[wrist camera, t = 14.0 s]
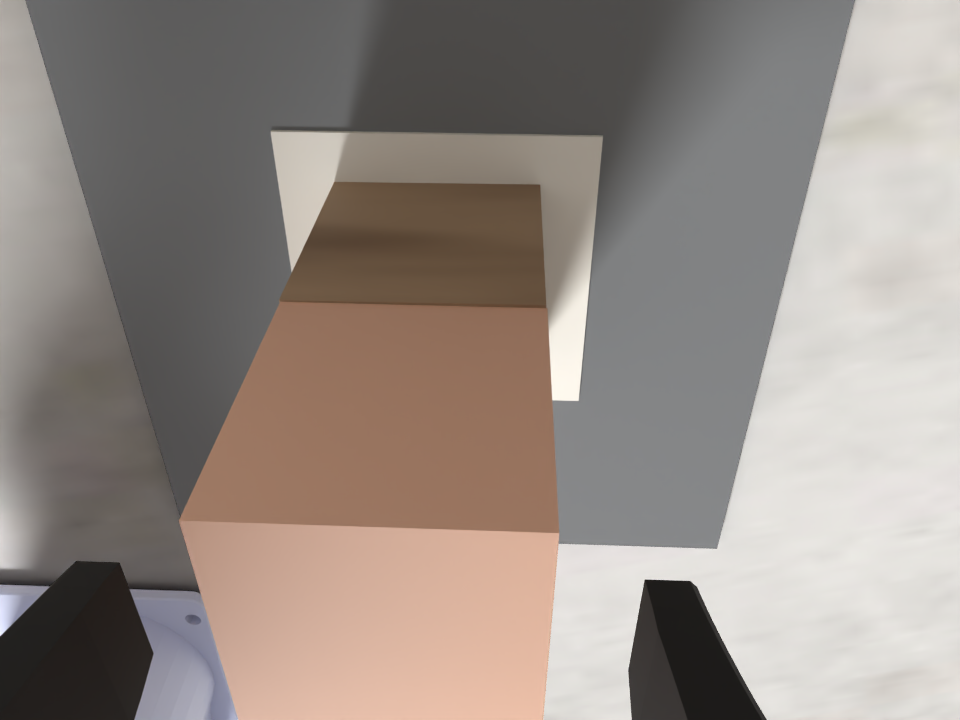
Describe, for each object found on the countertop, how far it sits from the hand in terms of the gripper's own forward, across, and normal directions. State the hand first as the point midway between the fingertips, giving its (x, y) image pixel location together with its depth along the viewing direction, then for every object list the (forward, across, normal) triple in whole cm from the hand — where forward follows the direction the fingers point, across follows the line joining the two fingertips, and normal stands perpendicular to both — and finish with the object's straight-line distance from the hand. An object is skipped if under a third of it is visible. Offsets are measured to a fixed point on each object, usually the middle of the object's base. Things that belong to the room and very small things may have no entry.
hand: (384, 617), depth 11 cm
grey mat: (+10, 0, 0) cm, 10 cm away
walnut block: (+10, 0, 0) cm, 10 cm away
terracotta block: (+4, 0, 0) cm, 5 cm away
